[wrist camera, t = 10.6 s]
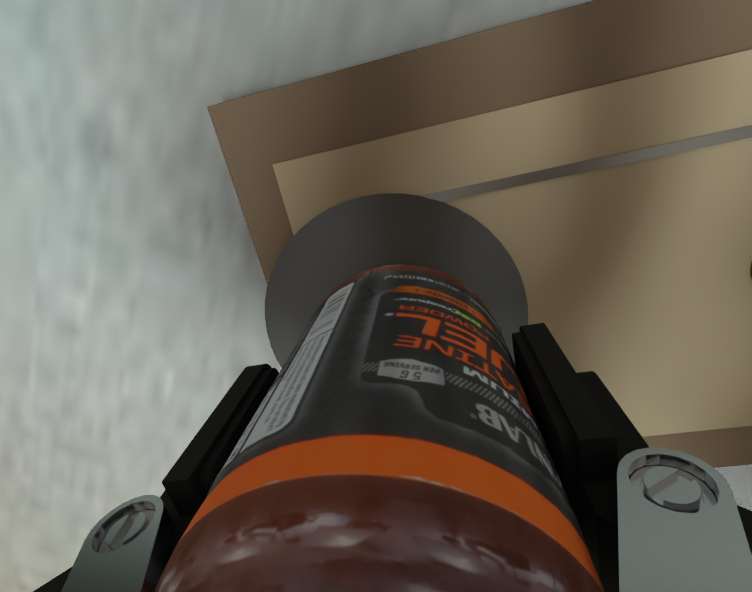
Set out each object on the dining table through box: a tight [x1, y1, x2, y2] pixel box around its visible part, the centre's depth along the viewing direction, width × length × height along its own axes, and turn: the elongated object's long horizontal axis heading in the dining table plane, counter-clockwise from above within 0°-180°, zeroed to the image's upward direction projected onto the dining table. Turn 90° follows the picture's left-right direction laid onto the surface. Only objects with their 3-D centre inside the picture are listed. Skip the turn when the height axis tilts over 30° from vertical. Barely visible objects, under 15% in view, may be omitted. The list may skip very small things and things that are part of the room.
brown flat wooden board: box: [207, 0, 752, 467], centre depth 14 cm, size 20×16×1 cm
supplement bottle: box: [154, 264, 605, 592], centre depth 8 cm, size 6×6×11 cm
